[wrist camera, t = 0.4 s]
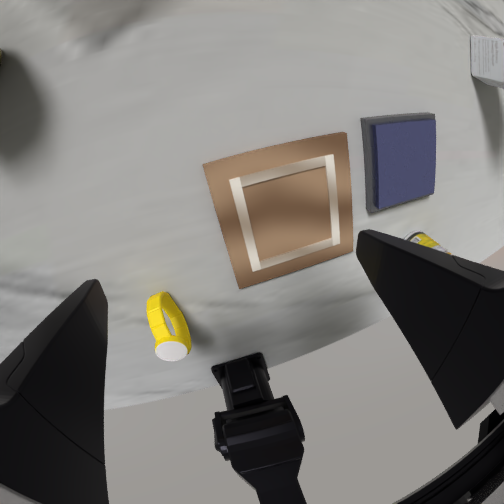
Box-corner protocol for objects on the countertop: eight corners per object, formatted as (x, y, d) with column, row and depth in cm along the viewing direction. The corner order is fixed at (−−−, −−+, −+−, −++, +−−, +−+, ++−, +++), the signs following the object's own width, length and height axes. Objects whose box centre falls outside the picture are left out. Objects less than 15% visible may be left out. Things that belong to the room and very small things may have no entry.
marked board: (350, 248, 28) (354, 252, 28) (238, 285, 27) (239, 290, 27) (343, 131, 22) (347, 133, 21) (202, 164, 21) (203, 166, 20)
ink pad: (427, 190, 27) (436, 195, 26) (366, 208, 26) (374, 215, 25) (428, 112, 22) (438, 114, 21) (360, 118, 22) (370, 120, 20)
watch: (194, 317, 29) (202, 364, 24) (171, 326, 29) (175, 373, 24) (166, 277, 25) (169, 327, 20) (140, 288, 25) (138, 338, 20)
